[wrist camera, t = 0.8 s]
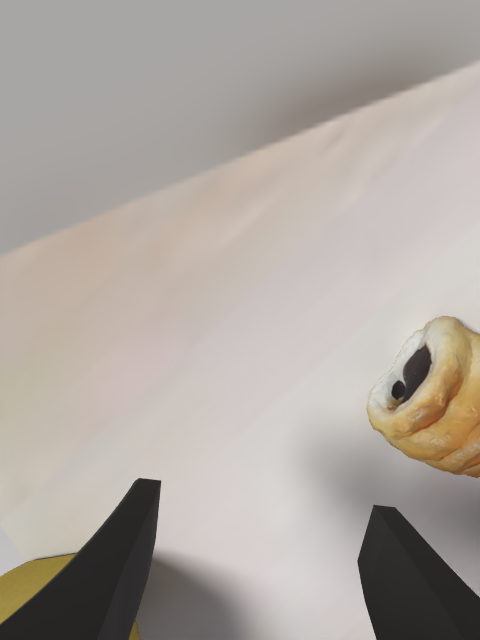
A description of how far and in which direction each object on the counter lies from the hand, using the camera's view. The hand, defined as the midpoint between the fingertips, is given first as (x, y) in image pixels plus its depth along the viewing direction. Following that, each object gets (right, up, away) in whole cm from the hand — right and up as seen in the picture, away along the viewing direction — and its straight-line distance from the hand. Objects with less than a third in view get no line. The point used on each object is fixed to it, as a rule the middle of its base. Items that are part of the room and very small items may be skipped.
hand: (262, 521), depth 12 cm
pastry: (+10, +2, +10) cm, 14 cm away
